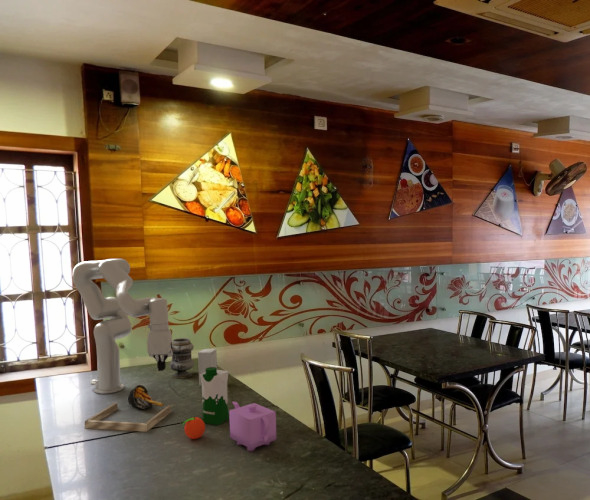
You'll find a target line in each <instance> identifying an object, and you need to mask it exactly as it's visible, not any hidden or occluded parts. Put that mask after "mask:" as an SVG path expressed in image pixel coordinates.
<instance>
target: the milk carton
mask: <svg viewBox="0 0 590 500" xmlns="http://www.w3.org/2000/svg"><path fill="white" fill-rule="evenodd" d="M200 378H201V383H202V386H201V397H202V399H201V400H202V401H201V402H202V420H203V422H204V424H209V425H213V426H220V425H221V424H223V423H224V422H226V421H227V420H230V417H229V406H228V405H229V404H228V403H229V402H228V400H229V399H228V380H229V370H224V369H222V370H221V369H218V367H217V368H215V367H209V368H206V372H204V373H202V374H200Z"/></svg>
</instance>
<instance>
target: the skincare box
mask: <svg viewBox="0 0 590 500" xmlns="http://www.w3.org/2000/svg"><path fill="white" fill-rule="evenodd" d="M217 355H218V354H217V348H204V349H202V350H200V351H198V352H197V359H198V361H197V362H198V382H199V383H198V384H199V385H198V386H199V387H200V386H201V387H202V383H201V378H200V374H202V373H204V372H206V368H209V367H215V368H217V369H218V357H217Z"/></svg>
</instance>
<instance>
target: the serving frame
mask: <svg viewBox="0 0 590 500" xmlns="http://www.w3.org/2000/svg"><path fill="white" fill-rule="evenodd" d="M118 404H119V403H118V402H114V403H112V404H110V405H109V406H107V407H105V408H104V409H101V411H99V412H97V413H95V414H94V415H93V416H91V417H89V418H87V419H86V420H85V421H84V429H96V430H112V431H115V430H116V431H128V432H142V433H143V432H148V431H150V430H151V429H152V428H153V427H155V426H156V425H158V423H160V422H161V421H162V420H163V419H165V418H166V417H167V416H168V415H170V414H171V413H172V405H170V404H169V405H167V406H166V407H164V408H163V409H162V410H160V411H159V412H158V413H156V414H155V415H154V416H153V417H151V418H150V419H149V420H148V421H146V422H145V423H144V422H130V421H115V420H114V421H111V420H109V421H108V420H103V419H105V418H106V417H108V416H109V415H111V414H113V413H115V411H117V410H119V406H118Z"/></svg>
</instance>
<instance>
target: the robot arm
mask: <svg viewBox="0 0 590 500" xmlns="http://www.w3.org/2000/svg"><path fill="white" fill-rule="evenodd" d="M130 271H131V266H130V264H129V262H128V261H127V260H126V259H124V258H108V259H102V260H88V261H87V260H86V261H81V262H79V263H77V264H76V265H75V266H74V268H73V269H72V274H71V275H72V277H71V278H72V281H73V284H74V286H75V288H76V290H77V291H78V292H79V295H80V297H81V298H82V301H83V303H84V306H85V308H86V310H87V312H88V315H89V316H90V318H91V319H92V320H93V321H98V320H99V321H100V320H102V321H100V322H98V323H97V324H96V325H94V328H93V337H94V341H95V346H96V347H95V348H96V361H97V363H96V364H97V366H96V367H97V368H96V369H97V379H92V380H91V382H90V385H91V386H95V388H94V389H93V390H94V392H95V393H96V394H101V395H103V394H104V395H106V394H112V393H117V392H121V391H122V390H123V389H125V385H124V384H123V383H121V365H120V363H121V362H120V348H119V346H118V344H117V342H116V340H119V339H122V338H126V337H128V336H129V335H130V334H131V332H132V323H131V320H130V318H129V317H131V318H139V317H143V316H148V315H149V324H148V325H147V328H148V329H149V331H148V332H147V333H148V334H147V339H146V340H147V341H146V351H147V354H148V356H149V357H150V358H153V359H154V360H155V362H156V363H157V370H158V372H160V371H161V372H163V371H165V370H166V366H167V365H166V363H167V362H166V360H167V359H168V358H170V357H171V358H172V356H173V352H172V351H173V336H172V332H171V329H169V313H168V312H169V311H168V300H167V299H166V298H164V297H157V298H155V297H151V296H150V297H143V298H137V299H135V298H133V297H132V296H131V294H129V289H131V287H132V286H133V282H134V281H133V278H132V277H131V276H130V275H129V274H130V273H131V272H130ZM98 279H99V280H100V279H104V280H105V281H106V282H107V283H108V284H109V285H110V286H111V287H112V288H113V290H115V296H116V297H114V296H109V297H105V296H104V295H103V293H102V291H101V288H100V287H99V286H98V285H97V284H96V283H95V282H94V281H93V280H98ZM104 319H106V320H104Z"/></svg>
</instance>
